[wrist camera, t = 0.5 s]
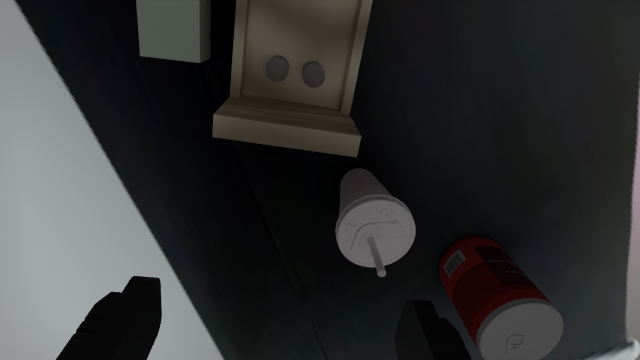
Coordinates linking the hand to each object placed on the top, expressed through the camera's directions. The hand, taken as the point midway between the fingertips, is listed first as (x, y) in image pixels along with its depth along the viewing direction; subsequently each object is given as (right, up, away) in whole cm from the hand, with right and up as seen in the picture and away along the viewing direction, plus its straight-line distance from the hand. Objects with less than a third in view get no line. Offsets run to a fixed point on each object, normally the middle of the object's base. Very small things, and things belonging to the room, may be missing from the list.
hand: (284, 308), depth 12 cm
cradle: (0, +18, +19) cm, 26 cm away
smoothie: (+5, +4, +26) cm, 27 cm away
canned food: (+19, -5, +31) cm, 36 cm away
